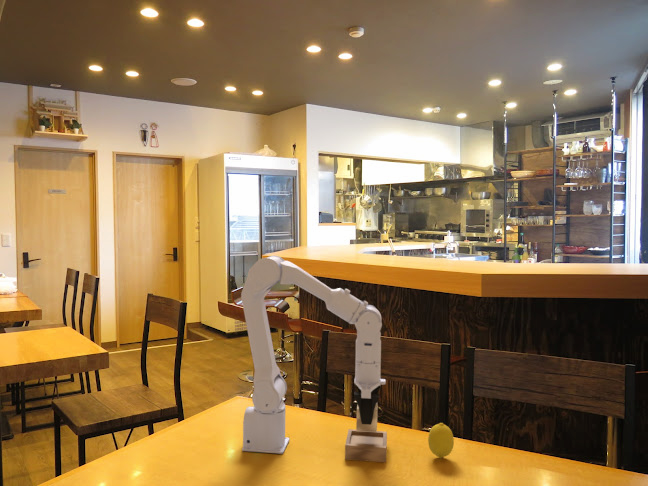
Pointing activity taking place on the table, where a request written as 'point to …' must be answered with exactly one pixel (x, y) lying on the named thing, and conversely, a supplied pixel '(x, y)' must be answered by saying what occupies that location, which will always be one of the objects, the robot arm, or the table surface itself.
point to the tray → (366, 446)
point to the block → (366, 426)
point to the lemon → (440, 440)
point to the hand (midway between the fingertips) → (367, 419)
